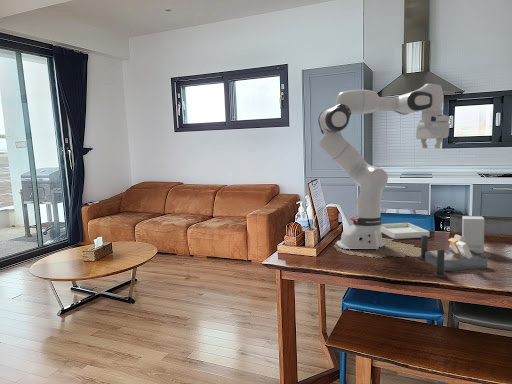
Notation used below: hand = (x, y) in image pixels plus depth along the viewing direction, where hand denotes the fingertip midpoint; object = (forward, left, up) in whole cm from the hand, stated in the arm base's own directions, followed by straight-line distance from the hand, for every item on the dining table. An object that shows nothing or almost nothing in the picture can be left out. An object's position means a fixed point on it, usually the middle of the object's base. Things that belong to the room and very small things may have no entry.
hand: (430, 148), depth 175 cm
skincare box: (+10, -18, -47) cm, 51 cm away
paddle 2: (-6, -38, -42) cm, 57 cm away
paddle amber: (-6, -33, -42) cm, 54 cm away
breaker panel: (-8, -33, -46) cm, 57 cm away
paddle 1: (-6, -28, -42) cm, 51 cm away
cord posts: (-18, -34, -46) cm, 60 cm away
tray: (-4, +20, -46) cm, 51 cm away
